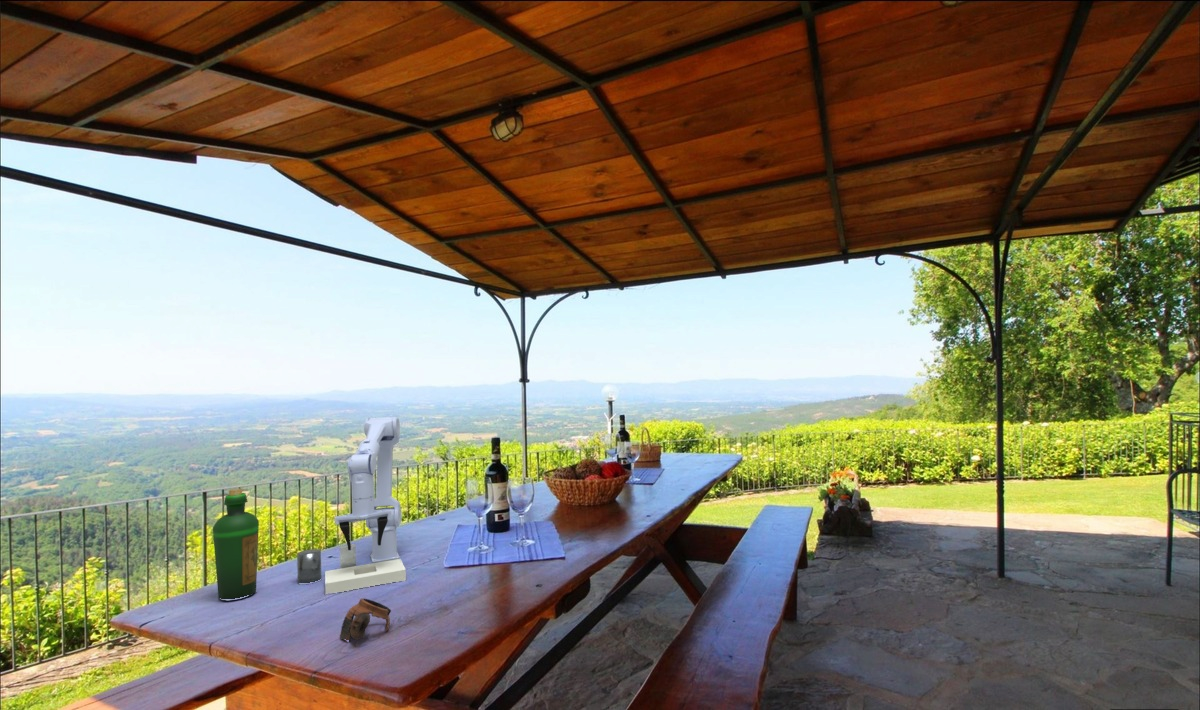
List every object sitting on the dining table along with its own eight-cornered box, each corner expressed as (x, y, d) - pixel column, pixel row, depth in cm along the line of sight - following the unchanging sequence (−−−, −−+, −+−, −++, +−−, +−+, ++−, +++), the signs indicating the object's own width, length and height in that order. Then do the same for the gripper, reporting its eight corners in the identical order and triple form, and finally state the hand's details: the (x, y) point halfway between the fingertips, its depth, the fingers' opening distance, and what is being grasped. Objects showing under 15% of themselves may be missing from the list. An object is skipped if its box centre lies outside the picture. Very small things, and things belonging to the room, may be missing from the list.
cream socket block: (325, 582, 162) (325, 571, 162) (400, 569, 170) (400, 558, 170) (325, 595, 151) (325, 583, 151) (406, 580, 159) (405, 569, 160)
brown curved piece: (340, 632, 128) (359, 594, 131) (380, 647, 129) (398, 609, 132) (328, 639, 117) (349, 598, 120) (372, 657, 118) (391, 615, 121)
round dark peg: (298, 579, 165) (297, 551, 165) (321, 575, 167) (320, 547, 168) (297, 586, 159) (296, 556, 160) (321, 581, 162) (320, 552, 162)
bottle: (266, 594, 154) (264, 488, 155) (219, 607, 146) (217, 495, 147) (253, 586, 161) (251, 484, 162) (208, 598, 153) (206, 491, 154)
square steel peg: (340, 573, 169) (339, 545, 169) (355, 571, 170) (354, 543, 171) (341, 577, 165) (340, 549, 165) (356, 574, 167) (355, 546, 167)
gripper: (334, 503, 155) (336, 554, 154) (392, 496, 161) (393, 545, 160) (334, 499, 161) (335, 548, 161) (389, 492, 167) (390, 540, 167)
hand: (364, 546), depth 161 cm, fingers open, 7 cm apart
